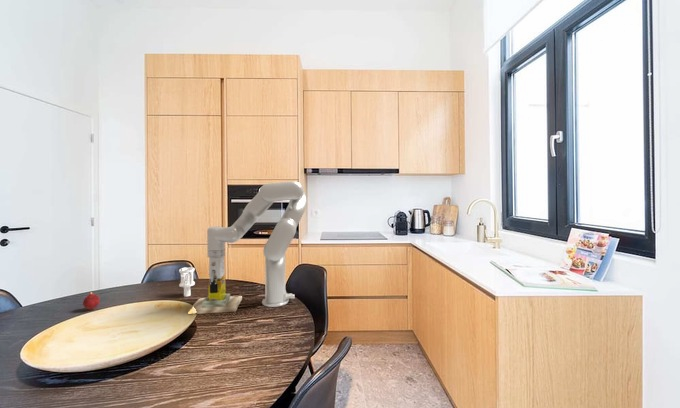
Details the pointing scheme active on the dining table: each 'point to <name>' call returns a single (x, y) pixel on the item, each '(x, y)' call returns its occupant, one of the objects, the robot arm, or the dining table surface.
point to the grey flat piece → (217, 304)
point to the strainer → (186, 280)
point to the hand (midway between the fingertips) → (216, 289)
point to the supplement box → (221, 290)
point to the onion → (91, 301)
